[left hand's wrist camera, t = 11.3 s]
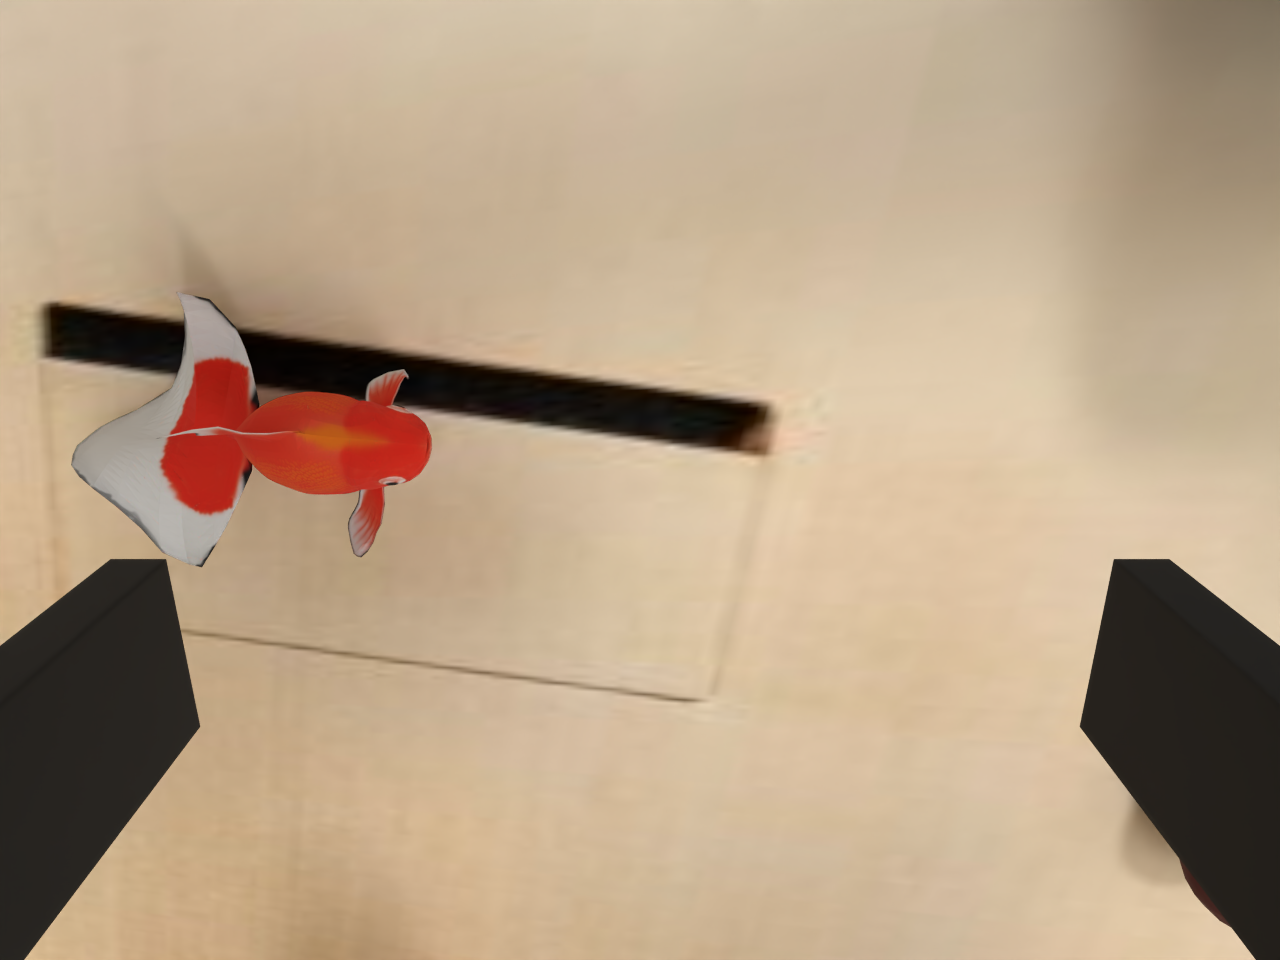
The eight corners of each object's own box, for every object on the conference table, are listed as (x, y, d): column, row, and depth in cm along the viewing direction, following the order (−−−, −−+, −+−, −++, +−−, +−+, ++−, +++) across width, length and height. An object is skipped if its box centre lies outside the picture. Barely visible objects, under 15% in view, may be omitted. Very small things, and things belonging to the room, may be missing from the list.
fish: (423, 642, 39) (258, 661, 29) (166, 516, 44) (-44, 498, 35) (510, 408, 39) (372, 352, 29) (242, 310, 44) (52, 235, 34)
